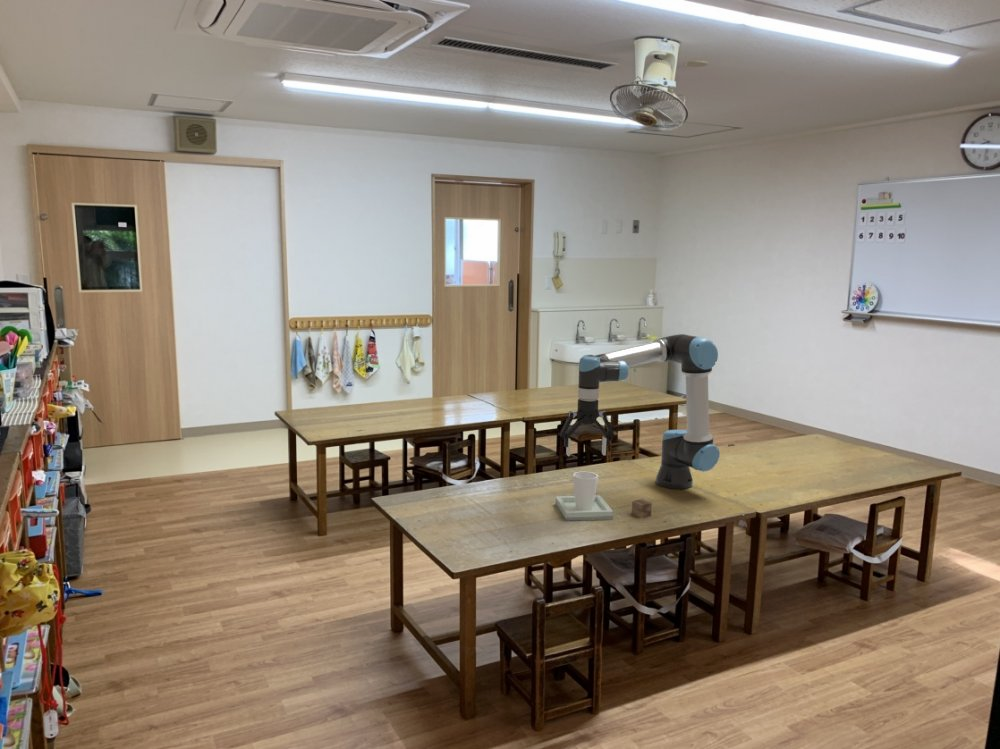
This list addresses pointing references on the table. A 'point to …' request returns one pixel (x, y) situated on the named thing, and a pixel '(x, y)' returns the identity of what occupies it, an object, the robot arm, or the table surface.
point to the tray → (571, 513)
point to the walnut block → (641, 508)
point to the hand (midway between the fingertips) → (586, 454)
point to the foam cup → (585, 489)
